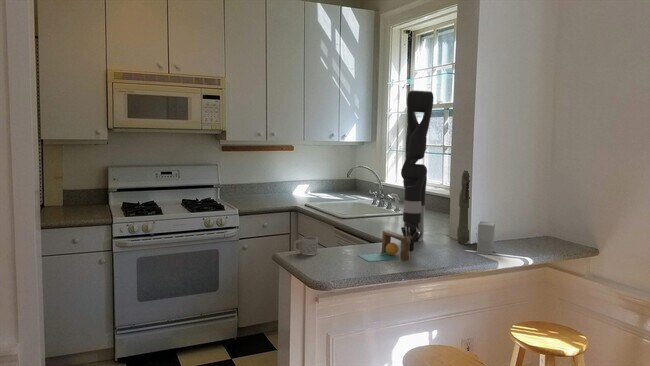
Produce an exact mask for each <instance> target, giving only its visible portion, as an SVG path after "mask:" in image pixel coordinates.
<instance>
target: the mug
mask: <svg viewBox="0 0 650 366" xmlns="http://www.w3.org/2000/svg"><path fill="white" fill-rule="evenodd" d="M318 241H319V238H318V237H316V236H303V237H301V239H296V240H294V241H293V251H294V252H296V253H301V254H302V253H304V254H317V255H318V248H319V247H318V246H319V245H318V243H319V242H318ZM300 243H301V249H300V248H299V249H297V244H300ZM297 251H299V252H297Z"/></svg>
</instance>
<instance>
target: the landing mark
mask: <svg viewBox="0 0 650 366" xmlns="http://www.w3.org/2000/svg"><path fill="white" fill-rule="evenodd" d="M357 256H358V257H359V258H361V259H363V260H365V261H366V262H369V263H371V262H382V261H393V260H400V257H397V256H396V255H394V256H391V255H389V254H387V252H386V253H384V252H381V253H370V254H359V255H357Z"/></svg>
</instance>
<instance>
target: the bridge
mask: <svg viewBox="0 0 650 366" xmlns="http://www.w3.org/2000/svg"><path fill="white" fill-rule="evenodd" d="M381 236H382V239H381V240H382V241H381V253H387V252H386V246H387V244H389V243H392V241H391V240H392V239H391V238H393V239H396V240H398V241H400V257H399V261H401V262H409V261H410V253H411V252H410V238H408V237H405V236H403V234H399V233H396V232H394V231H391V230H389V229H388V230H382V235H381Z"/></svg>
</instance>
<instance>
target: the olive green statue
mask: <svg viewBox="0 0 650 366" xmlns="http://www.w3.org/2000/svg"><path fill="white" fill-rule="evenodd" d="M463 171H464V172H462V174H461V188H462V189H460V192H459V197H458V200H459V201H458V206H459V215H458V216H459V219H458V226H457V228H456V229H457V230H456V232H457V233H456V237H457V239H456V242H457V241H458V242H462V243H467V242H468V241H469V230H468V208H469V199H470V197H469V190H468V189H469V182H470V180H469V177H470V176H469V173H468V171H465V169H464V170H463ZM458 242H457V243H458ZM462 243H461V244H462Z"/></svg>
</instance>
